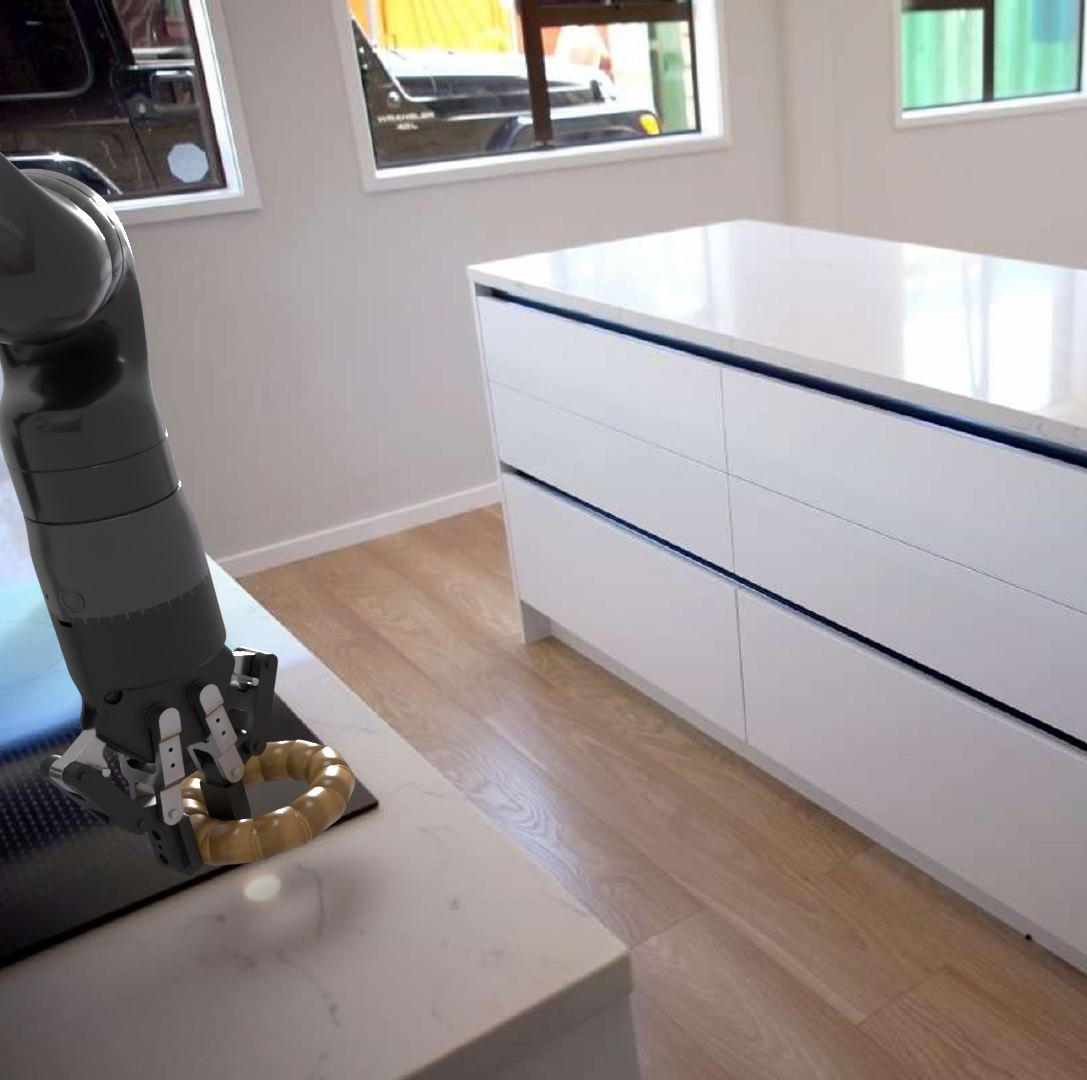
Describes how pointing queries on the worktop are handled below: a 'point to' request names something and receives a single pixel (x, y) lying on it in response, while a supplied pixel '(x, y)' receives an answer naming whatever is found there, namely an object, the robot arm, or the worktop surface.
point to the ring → (281, 826)
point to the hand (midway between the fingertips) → (209, 850)
